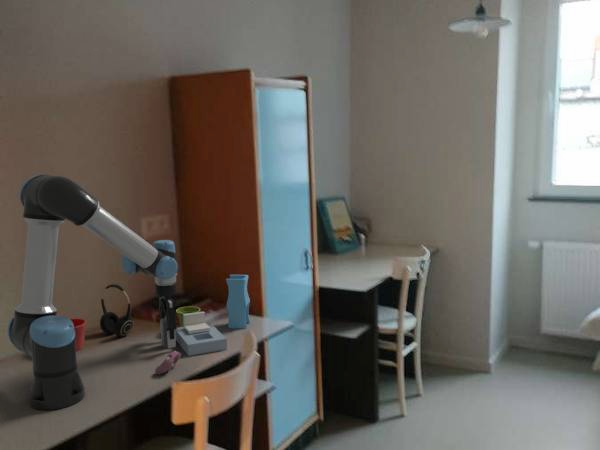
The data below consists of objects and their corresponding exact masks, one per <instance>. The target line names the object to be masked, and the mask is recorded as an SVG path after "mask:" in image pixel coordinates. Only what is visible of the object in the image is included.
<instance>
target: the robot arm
mask: <svg viewBox="0 0 600 450" xmlns="http://www.w3.org/2000/svg"><path fill="white" fill-rule="evenodd" d="M18 194H19V195H18V196H19V200H20V203H21V205H22V207H23V213H22V214H23V215H22V219H24V221H25V222H26V223H27V233H26V247H25V258H24V266H23V267H24V268H23V279H22V290H21V299H20V301H21V302H20V303H19V305H17V306H16V307H15V308H14V315H13V317H12V318H11V320H10V321H9V323H8V325H7V338H8V339H9V342H10V343H11V344H12V345H13V347H15V348H16V349H17V350H18V351H20V352H23V353H25V354H26V355H28V356H29V357H31V360H32V370H33V371H32V373H33V378H32V382H31V385H30V389H29V393H28V405H29V407H31V408H32V409H36V410H43V411H50V410H58V409H63V408H68V407H70V406H73V405H75V404H77V403H79V402H81V400H83V399H84V398H85V396H86V390H85V389H86V387H85V385H84V381H83V380H82V377H81V376H80V374H79V372H78V365H77V351H76V345H75V330H74V325H73V322H72V321H71V320H70V319H71V318H68V317H67V316H62V315H59V316H58V315H57V312H58V310H57V309H58V308H56V307H55V306H54V304H53V297H54V284H55V275H56V274H55V273H56V265H57V253H58V243H59V241H58V240H59V232H60V231H59V230H60V226H61V225H63V223H65V221H68V222H71V223H72V224H73V225H74V226H76V227H84V228H85V229H86V230H87V231H89V232H91V233H93V234H94V235H95V236H97V237H98V238H99V239H100V240H102V241H104V242H105V243H107V244H108V245H109V246H111V247H112V248H114V249H116V251H118V252H120V254H122V255H121V260H120V264H121V268H122V270H123V272H124V273H126V275H133V274H134V275H136V274H138V273H140V274H144V275H147V276H149V277H154V283H155V285H154V288H155V295H156V296H158V300H159V301H158V303H159V304H158V305H159V306H158V317H159V320H160V321H159V323H160V325H161V319H163V318H165V317H166V320H167V326H168V329H166V331H167V339H168V348H167V349H172V348H176V347H177V343H176V342H177V341H176V337H175V330H176V329H177V328H178V327H177V326H178V325H177V320H176V318H177V317H176V310H175V301H174V299H173V298H172V297H173V295H176V294H177V292H178V290H177V289H178V286H177V283H176V282H177V276H178V266H179V265H178V262H177V261H176V260H177V259H176V257H177V256H176V244H175V242H174V241H173V240H170V239H159V240H155V241H154V242H153V244H150V243H149V242H147V241H146V240H145V239H143V237H141V236H139V235H138V234H137V233H136V232H135V231H133V230H132V229H131V228H129V226H126V225H125V224H124V223H123V222H122V221H120V220H119V219H118V218H116V216H113V215H112V214H111V213H110V212H108V211H107V210H106V209H104V208H103V207H102V206H100V202H99V200H98V199H97V198H96V197H94V196H93V195H92V194H91V193H90V192H88V191H87V190H86V189H84V188H83V187H82V186H80V184H78V183H77V182H75V181H73V180H72V179H70V178H69V177H66V176H61V175H50V174H39V175H38V174H37V175H34V176H31V177H29V178H27V179H26V180H25V181H24V182H23V183H22V185H21V187H20V190H19V193H18ZM171 326H173V327H171ZM160 338H161V337H160ZM161 340H162V338H161Z"/></svg>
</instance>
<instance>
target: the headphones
mask: <svg viewBox="0 0 600 450" xmlns="http://www.w3.org/2000/svg"><path fill="white" fill-rule="evenodd" d="M109 288H115V289H118V290H120V291H121V292H122V293H123V294H124V295H125V298H126V299H127V310H126V314H124V315H122V316H120V317H119V316H118V314H117V313H115V312H112V311H107V307H106V306H105V301H104V295H105V292H106V290H107V289H109ZM126 292H127V291H125V289H124V288H123V287H122V286H120V285H119V284H116V283H115V284H114V283H113V284H109V285H107V286H106V287H105V288H104V290H103V291H102V293H101V297H100V303H101V308H102V312H103V314H102V315H101V318H100V320H99V325H100V329H101V330H102V332H104V333H105V334H106V335H116V337H121V338H122V337H125V336H126V335H129V334H130V332H131V331H132V329H133V326H134V319H133V317H132V316H131V315H130V314H131V302H130V298H129V295H128V294H127V293H126Z"/></svg>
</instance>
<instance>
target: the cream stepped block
mask: <svg viewBox="0 0 600 450" xmlns="http://www.w3.org/2000/svg"><path fill="white" fill-rule="evenodd" d="M205 314H206V312H205V311H199V312H197V313H189V314H183V328H184V329H185V330H186V331H187V332H188V334H192V333H199V332H206V331H210V327H209V326H208V325H207V323H206V317H205V316H206V315H205Z"/></svg>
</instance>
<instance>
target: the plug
mask: <svg viewBox="0 0 600 450" xmlns="http://www.w3.org/2000/svg"><path fill="white" fill-rule="evenodd" d="M171 327H173V326H171ZM166 329H168V326H167V320H166V317H165V318H163V319H161V324H160V338H162V339H161V346H162V348H163V349H169V348H168V339H167V331H166Z"/></svg>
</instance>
